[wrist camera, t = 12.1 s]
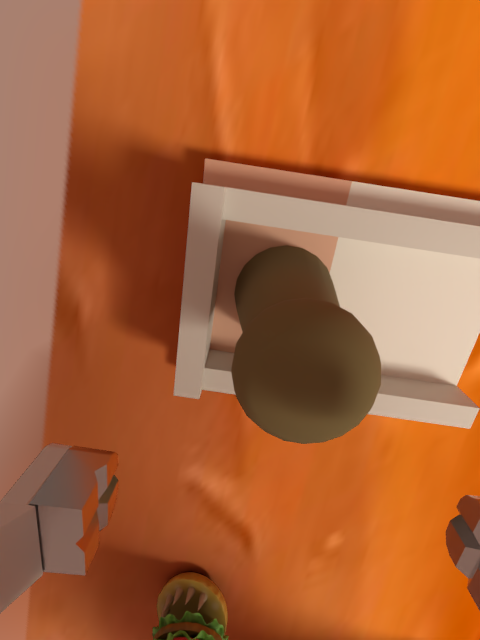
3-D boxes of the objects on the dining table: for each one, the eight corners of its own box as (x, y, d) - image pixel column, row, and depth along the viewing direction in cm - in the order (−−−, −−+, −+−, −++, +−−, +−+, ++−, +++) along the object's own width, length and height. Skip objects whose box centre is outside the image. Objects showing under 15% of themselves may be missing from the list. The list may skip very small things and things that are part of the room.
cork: (221, 261, 20) (187, 336, 10) (322, 232, 20) (396, 280, 9) (249, 350, 22) (245, 487, 12) (342, 326, 22) (422, 452, 11)
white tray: (513, 207, 20) (592, 213, 15) (431, 406, 25) (471, 456, 20) (208, 160, 20) (194, 152, 15) (187, 371, 25) (172, 413, 20)
